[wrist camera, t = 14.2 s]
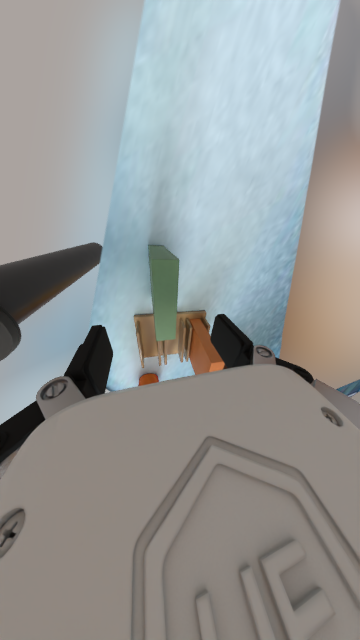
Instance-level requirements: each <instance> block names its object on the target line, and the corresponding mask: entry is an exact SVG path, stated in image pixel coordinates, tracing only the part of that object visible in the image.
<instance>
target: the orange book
mask: <svg viewBox="0 0 360 640" xmlns="http://www.w3.org/2000/svg"><path fill="white" fill-rule="evenodd" d="M189 322H190V324H191V326H192V334H191V342H190V350H189V358H190V361H191V364H192V367H193V369H194V372H195V375H197V374H202V373H208V372H213V371H218V370H223V367H224V365H225V363H224V362H223V360H222V359H221V357H220V355H219V354H218V352H217V351H216V349H215V347H214V346H213V344H212V343H211V340H210V338H211V336H210V334H209V333H208V331H207V330H206V328H205V326H204V325H203V323H202V321H201V320H200V318H198V319H190V320H189Z"/></svg>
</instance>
